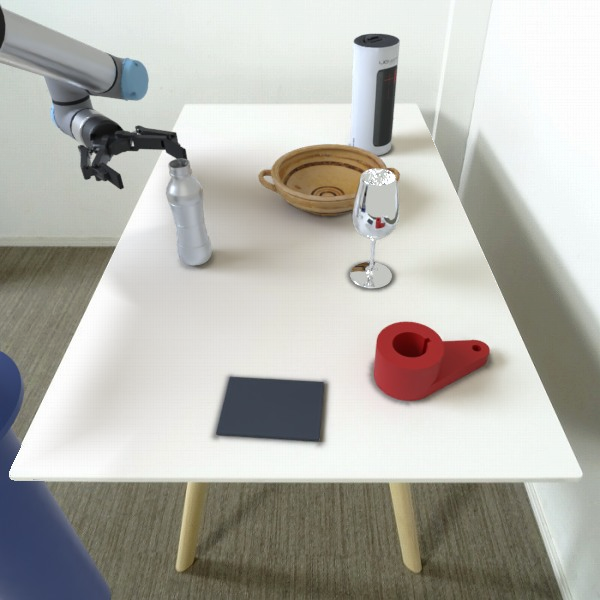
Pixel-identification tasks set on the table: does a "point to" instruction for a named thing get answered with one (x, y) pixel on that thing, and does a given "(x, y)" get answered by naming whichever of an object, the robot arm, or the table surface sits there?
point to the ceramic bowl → (322, 177)
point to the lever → (422, 360)
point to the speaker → (374, 91)
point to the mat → (272, 409)
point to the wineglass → (374, 222)
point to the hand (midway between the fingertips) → (153, 168)
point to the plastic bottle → (188, 213)
